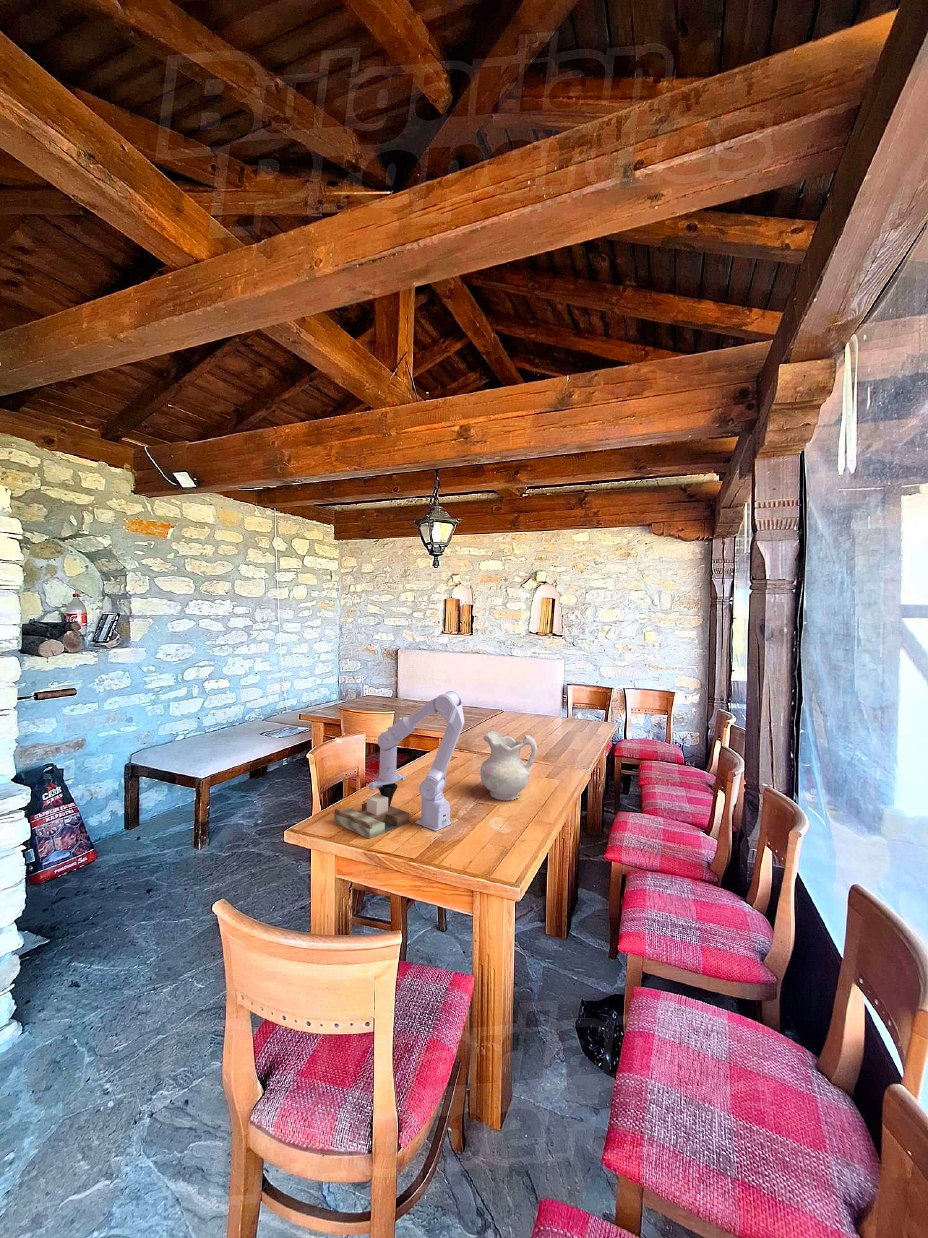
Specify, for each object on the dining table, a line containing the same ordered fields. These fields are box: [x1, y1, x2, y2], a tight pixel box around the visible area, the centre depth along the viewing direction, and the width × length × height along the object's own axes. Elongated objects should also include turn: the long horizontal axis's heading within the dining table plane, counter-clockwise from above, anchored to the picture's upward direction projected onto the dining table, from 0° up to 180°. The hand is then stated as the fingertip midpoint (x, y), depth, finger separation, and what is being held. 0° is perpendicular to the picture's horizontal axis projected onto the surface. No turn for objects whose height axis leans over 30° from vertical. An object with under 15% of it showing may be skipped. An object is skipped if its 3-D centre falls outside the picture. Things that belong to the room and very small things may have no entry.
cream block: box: [366, 793, 388, 815], centre depth 164 cm, size 5×5×4 cm
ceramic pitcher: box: [479, 730, 538, 802], centre depth 191 cm, size 22×20×25 cm
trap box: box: [333, 801, 411, 840], centre depth 162 cm, size 18×17×4 cm
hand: (386, 805), depth 167 cm, fingers closed
